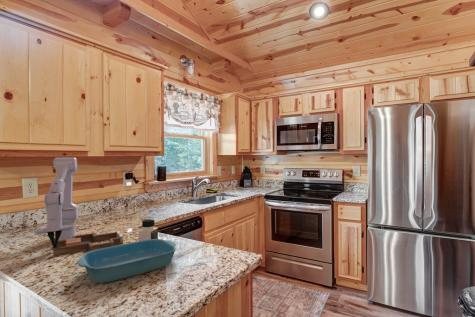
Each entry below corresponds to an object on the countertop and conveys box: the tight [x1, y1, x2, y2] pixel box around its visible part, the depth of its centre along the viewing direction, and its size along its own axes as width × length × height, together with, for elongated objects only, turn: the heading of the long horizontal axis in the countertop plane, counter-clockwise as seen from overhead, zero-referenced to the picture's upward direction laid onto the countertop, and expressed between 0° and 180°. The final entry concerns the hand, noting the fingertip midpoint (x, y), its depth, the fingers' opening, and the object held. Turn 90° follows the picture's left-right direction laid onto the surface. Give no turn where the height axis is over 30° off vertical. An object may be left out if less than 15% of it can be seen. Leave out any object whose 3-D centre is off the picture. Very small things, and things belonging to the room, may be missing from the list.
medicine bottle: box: [137, 218, 159, 242], centre depth 133 cm, size 7×7×12 cm
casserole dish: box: [76, 238, 177, 284], centre depth 103 cm, size 37×22×7 cm, turn 129°
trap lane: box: [52, 230, 124, 256], centre depth 129 cm, size 22×29×4 cm
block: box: [66, 238, 81, 246], centre depth 125 cm, size 6×6×4 cm
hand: (54, 247), depth 121 cm, fingers closed
